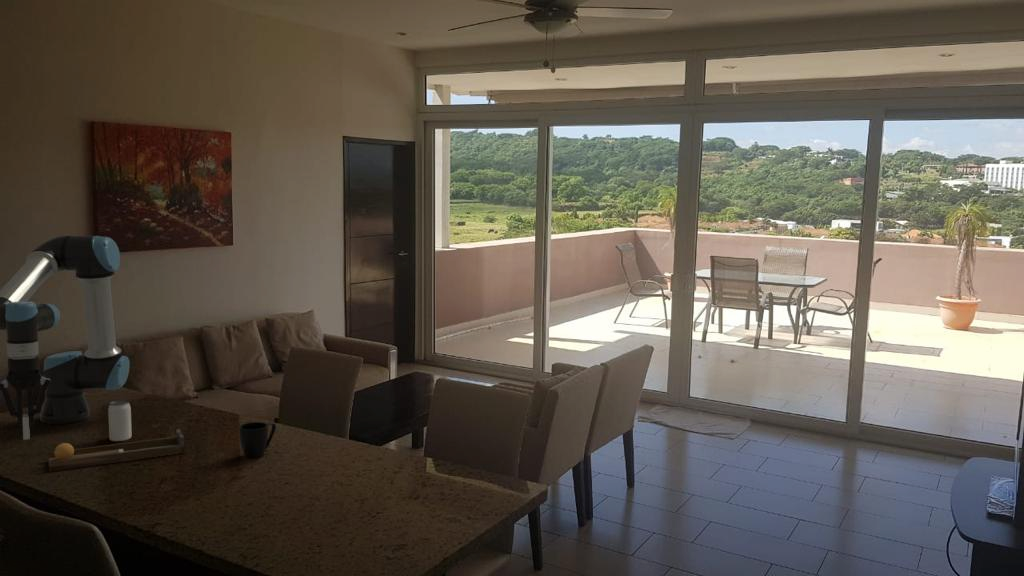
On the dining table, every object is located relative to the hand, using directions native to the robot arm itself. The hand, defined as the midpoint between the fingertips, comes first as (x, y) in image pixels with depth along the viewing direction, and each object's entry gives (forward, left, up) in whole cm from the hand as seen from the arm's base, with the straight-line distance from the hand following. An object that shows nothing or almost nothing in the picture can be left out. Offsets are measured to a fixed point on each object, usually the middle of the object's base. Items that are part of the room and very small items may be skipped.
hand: (26, 438), depth 224 cm
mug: (+16, +61, -9) cm, 64 cm away
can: (-19, +25, -9) cm, 33 cm away
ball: (0, +9, -6) cm, 11 cm away
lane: (0, +23, -9) cm, 25 cm away
